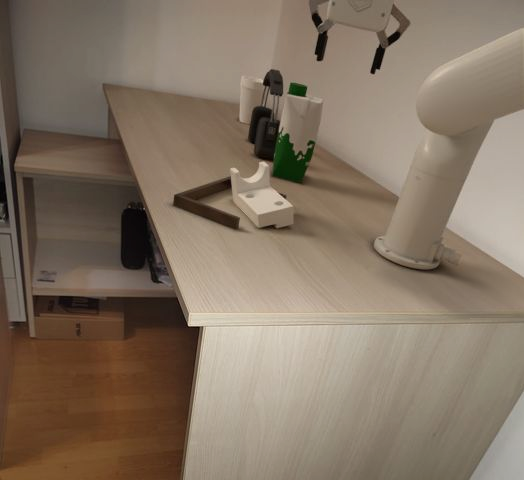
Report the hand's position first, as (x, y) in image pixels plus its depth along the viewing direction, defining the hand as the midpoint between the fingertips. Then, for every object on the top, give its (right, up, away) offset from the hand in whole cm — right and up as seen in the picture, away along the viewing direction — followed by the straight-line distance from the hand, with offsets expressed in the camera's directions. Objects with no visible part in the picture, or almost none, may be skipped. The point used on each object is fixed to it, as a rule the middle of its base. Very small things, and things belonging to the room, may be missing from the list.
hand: (345, 67), depth 86 cm
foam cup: (-19, +28, +80) cm, 87 cm away
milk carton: (-8, -7, +35) cm, 37 cm away
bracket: (-16, -24, +9) cm, 30 cm away
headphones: (-15, +7, +52) cm, 55 cm away
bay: (-21, -21, +11) cm, 31 cm away
